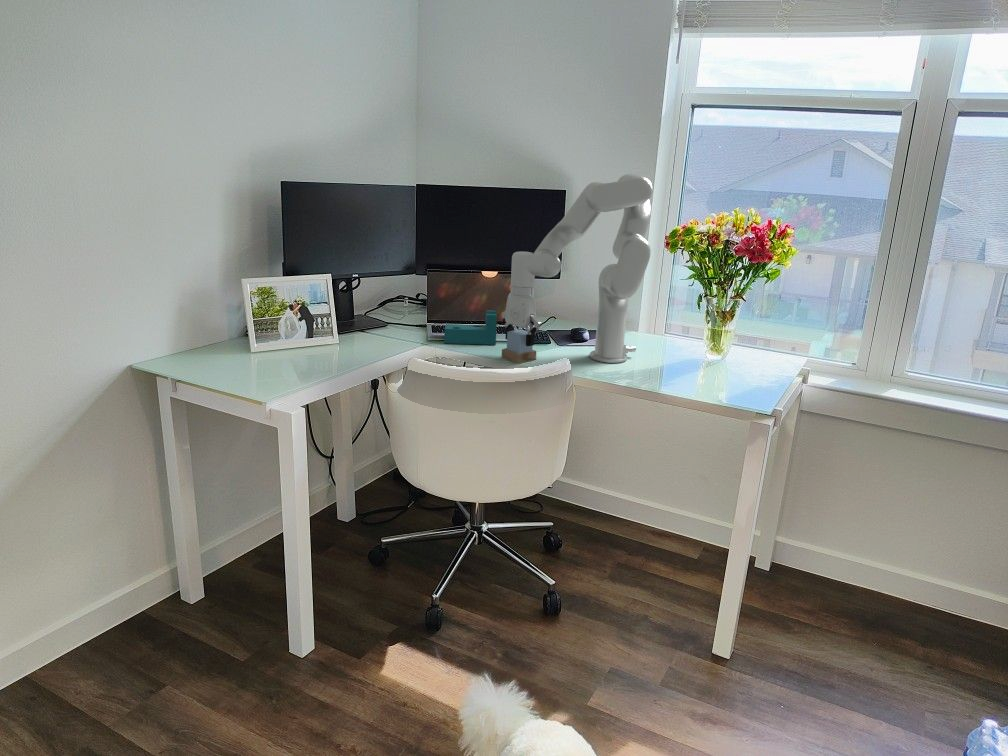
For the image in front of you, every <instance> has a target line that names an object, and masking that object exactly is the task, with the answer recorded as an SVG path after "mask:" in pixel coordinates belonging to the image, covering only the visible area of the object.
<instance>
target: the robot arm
mask: <svg viewBox="0 0 1008 756" xmlns="http://www.w3.org/2000/svg"><path fill="white" fill-rule="evenodd" d="M652 184H653V183H652V182H651V181H650V180H649V179H648V178H647V177H645V176H642V175H638V174H633V173H628V174H622V176H620V177H619V178H618V180H617V181H613V182H606V183H605V182H604V183H603V182H600V181H594V182H593V181H592V182H590V183H589V184H587V185H586V186H585V187H584V189H583V190H582V192H580V194H579V195H578V197H577V198H576V200H575V201H574V203H573V204H572V205H571V207H569V209H568V211H567V212H566V214H565V215H564V216H563V217H562V219H561V220H560V221H558V222H557V224H556V225H555V226H554V227H553V228H552V229H551V230H550V231H549V232H548V233H547V235H545V237H544V238H543V239H542V241H541V242H540V244H539V245H538V247H537V248H536V249H535V250H534V252H531V251H530V252H529V251H515V252H513V253H512V256H511V268H510V269H511V273H510V275H511V277H510V285H509V289H510V293H508V296H507V299H506V303H505V310H504V311H502V312H501V317H502V321H503V323H504V327H505V340H507V332H509V331H514V330H515V327H517V328H520V329H521V328H522V329H525V331H527V332H528V334H527V335H526V346H532V345H533V346H534V345H535V337H536V336H535V335H536V334H537V332H538V331H539V330H540V327H541V326H542V322H541V321H540V320H539V319H538V318H537V317H536V297H535V296H534V295H535V279H536V278H535V276H538V277H542V278H543V277H544V278H552V277H555V276H557V275H558V274H559V272H561V268H562V263H561V260H560V258H559V256H560V255H561V254H562V252H563V250H564V249H566V247H568V245H571V243H572V242H574V241H577V240H579V239H581V238H582V237H583V236H585V235H586V234H587V232H588V231H589V229H590V227H592V225H593V223H595V221H596V220H597V218H598V217H599V216H600V214H601V213H608V212H614V211H615V212H616V211H619V210H620V211H621V210H622V209H623V216H622V219H621V223H620V225H619V228H618V230H617V234H616V237H615V239H614V241H613V245H612V253H613V255H614V257H615V258H616V259H617V263H610V264H607V265H606V266H605V267H603V268H602V269H601V272H600V273H599V277H598V308H597V309H598V310H597V318H596V319H597V320H596V321H597V322H596V330H595V331H596V332H595V343H594V344H595V345H594V350H592V351H590V352H589V358H591V359H592V360H594V361H595V362H596V361H597V362H602V363H608V364H619V363H624V362H626V361H627V360H628V355H627V354H628V352H629V353H635V352H636V350H637V347H636V345H632V346H631V345H630V346H629V345H628V344H626V345H625V337H626V325H627V316H628V315H627V314H628V307H629V306H628V304H629V303H628V302H629V299H631V298H632V297H633V296H635V295H636V294H637V292H638V291H639V288H640V286H641V283H642V281H643V278H644V276H645V272H646V271H647V268H648V265H649V262H650V258H651V252H652V251H651V250H652V249H651V245H650V243H649V241H648V240H647V239H645V237H646V235H647V230H648V227H649V225H650V221H651V215H652V214H651V213H652V207H651V202H650V199H651V197H652V195H653V189H654V188H653V185H652Z"/></svg>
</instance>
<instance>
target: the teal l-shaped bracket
mask: <svg viewBox="0 0 1008 756" xmlns="http://www.w3.org/2000/svg"><path fill="white" fill-rule="evenodd" d="M497 321H498V314H497V310H485V325H484V324H459V323H458V324H455V323H446V324H445V326H444V337H443V338H444V339H443V343H444V344H455V345H456V344H457V345H458V344H460V345H487V346H488V345H489V346H492V345H493V346H494V345H497V323H498V322H497Z"/></svg>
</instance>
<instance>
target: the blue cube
mask: <svg viewBox="0 0 1008 756" xmlns="http://www.w3.org/2000/svg"><path fill="white" fill-rule="evenodd" d="M527 334H528V332H527V330H526V329H525V330H524V329H521V328H519V329H514V331H509V332H507V339H506V348H507V350H510V351H513V352H516V353H518V354H520V353H525V352H529V351H532V350H533V346H534V345H532V346H526V335H527Z"/></svg>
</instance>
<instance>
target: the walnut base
mask: <svg viewBox="0 0 1008 756" xmlns="http://www.w3.org/2000/svg"><path fill="white" fill-rule="evenodd" d="M501 359H504V360H506V361H509V362H512V363H515V364H516V365H517V364H518V365H519V364H523V363H527V362H532V361H536V360H537V350H534V349H532V351H529V352H525V353H520V354H518V353H516V352H513V351H510V350H507V347H506V348H502V349H501Z"/></svg>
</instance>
